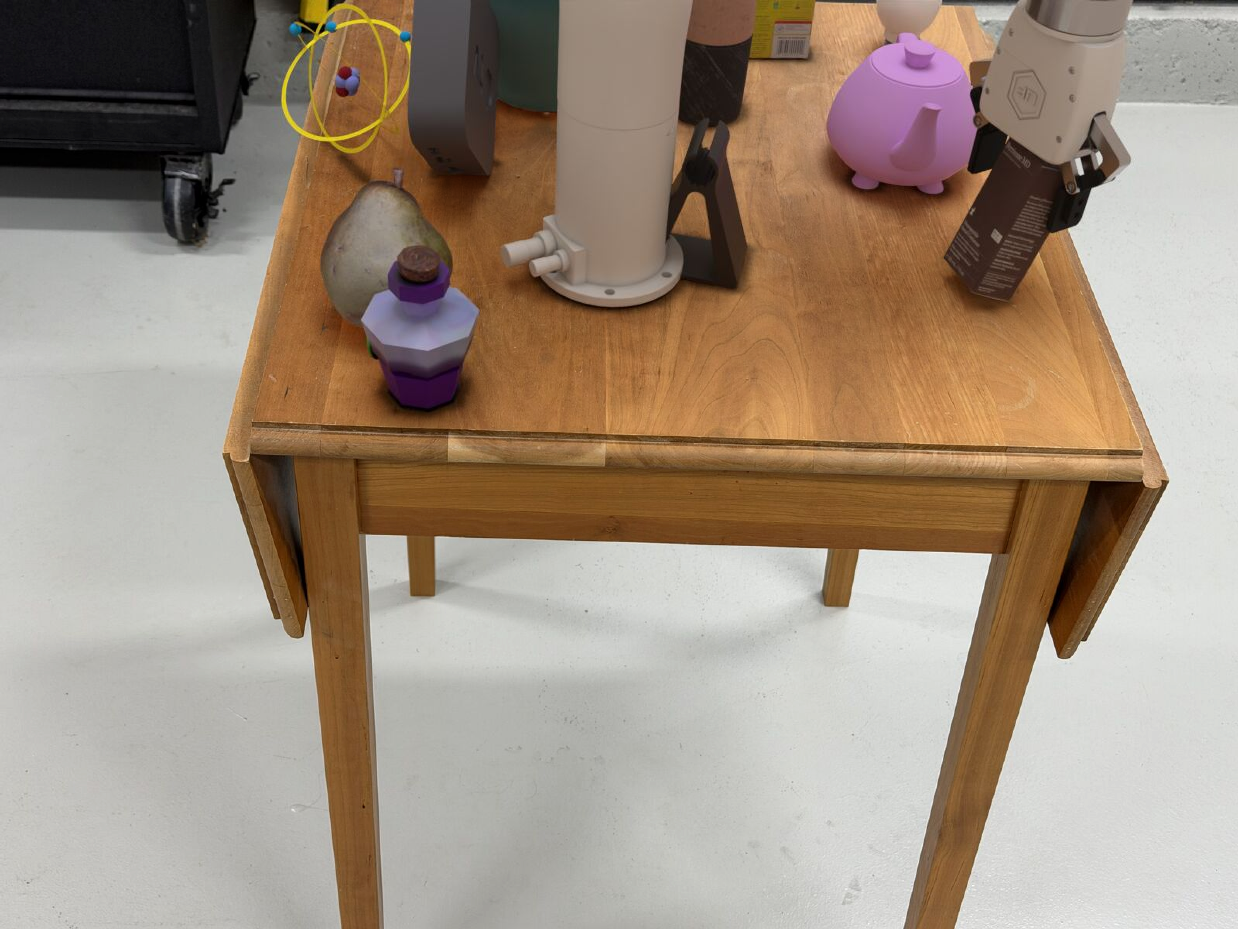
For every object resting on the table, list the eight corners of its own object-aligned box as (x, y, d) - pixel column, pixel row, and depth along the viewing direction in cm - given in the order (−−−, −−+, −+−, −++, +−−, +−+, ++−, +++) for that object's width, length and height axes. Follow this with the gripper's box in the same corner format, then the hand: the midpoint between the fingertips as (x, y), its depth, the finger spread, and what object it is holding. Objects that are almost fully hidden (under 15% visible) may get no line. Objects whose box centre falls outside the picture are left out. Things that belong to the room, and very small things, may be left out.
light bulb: (931, 73, 148) (954, -28, 140) (867, 68, 148) (886, -33, 141) (926, 43, 153) (947, -56, 145) (864, 38, 153) (882, -61, 145)
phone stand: (747, 250, 122) (768, 128, 114) (736, 289, 118) (758, 165, 110) (646, 231, 123) (660, 108, 115) (632, 269, 119) (646, 144, 111)
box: (937, 258, 120) (1008, 131, 114) (979, 270, 122) (1051, 145, 116) (968, 294, 116) (1044, 163, 110) (1011, 305, 118) (1087, 177, 112)
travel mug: (745, 130, 137) (770, -72, 124) (667, 125, 137) (684, -77, 123) (741, 91, 143) (765, -106, 129) (666, 87, 143) (683, -111, 129)
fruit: (458, 283, 116) (454, 156, 108) (448, 354, 110) (443, 225, 101) (334, 277, 116) (320, 150, 108) (316, 349, 109) (300, 218, 101)
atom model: (272, -40, 126) (251, 103, 134) (292, 22, 115) (267, 175, 122) (420, -11, 132) (391, 125, 139) (452, 51, 121) (419, 195, 128)
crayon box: (803, 46, 151) (820, -60, 143) (808, 59, 149) (825, -48, 141) (735, 45, 150) (748, -62, 142) (739, 58, 148) (752, -49, 140)
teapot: (984, 237, 126) (1019, 111, 117) (827, 225, 126) (850, 99, 117) (956, 123, 140) (985, 5, 132) (815, 113, 140) (835, -6, 132)
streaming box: (446, 28, 131) (501, 29, 131) (437, 180, 130) (492, 182, 130) (411, -36, 117) (472, -35, 116) (401, 135, 116) (462, 136, 115)
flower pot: (654, 60, 146) (667, -104, 135) (611, 145, 134) (621, -27, 122) (489, 32, 149) (487, -131, 137) (431, 113, 136) (424, -59, 125)
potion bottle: (362, 359, 109) (351, 226, 101) (472, 349, 111) (470, 218, 103) (372, 430, 103) (361, 295, 95) (489, 419, 104) (488, 285, 96)
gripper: (964, -36, 109) (920, 158, 120) (1125, 62, 98) (1059, 264, 110) (1036, -52, 112) (986, 139, 123) (1200, 41, 101) (1128, 240, 113)
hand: (1021, 197), depth 117 cm, fingers open, 9 cm apart
